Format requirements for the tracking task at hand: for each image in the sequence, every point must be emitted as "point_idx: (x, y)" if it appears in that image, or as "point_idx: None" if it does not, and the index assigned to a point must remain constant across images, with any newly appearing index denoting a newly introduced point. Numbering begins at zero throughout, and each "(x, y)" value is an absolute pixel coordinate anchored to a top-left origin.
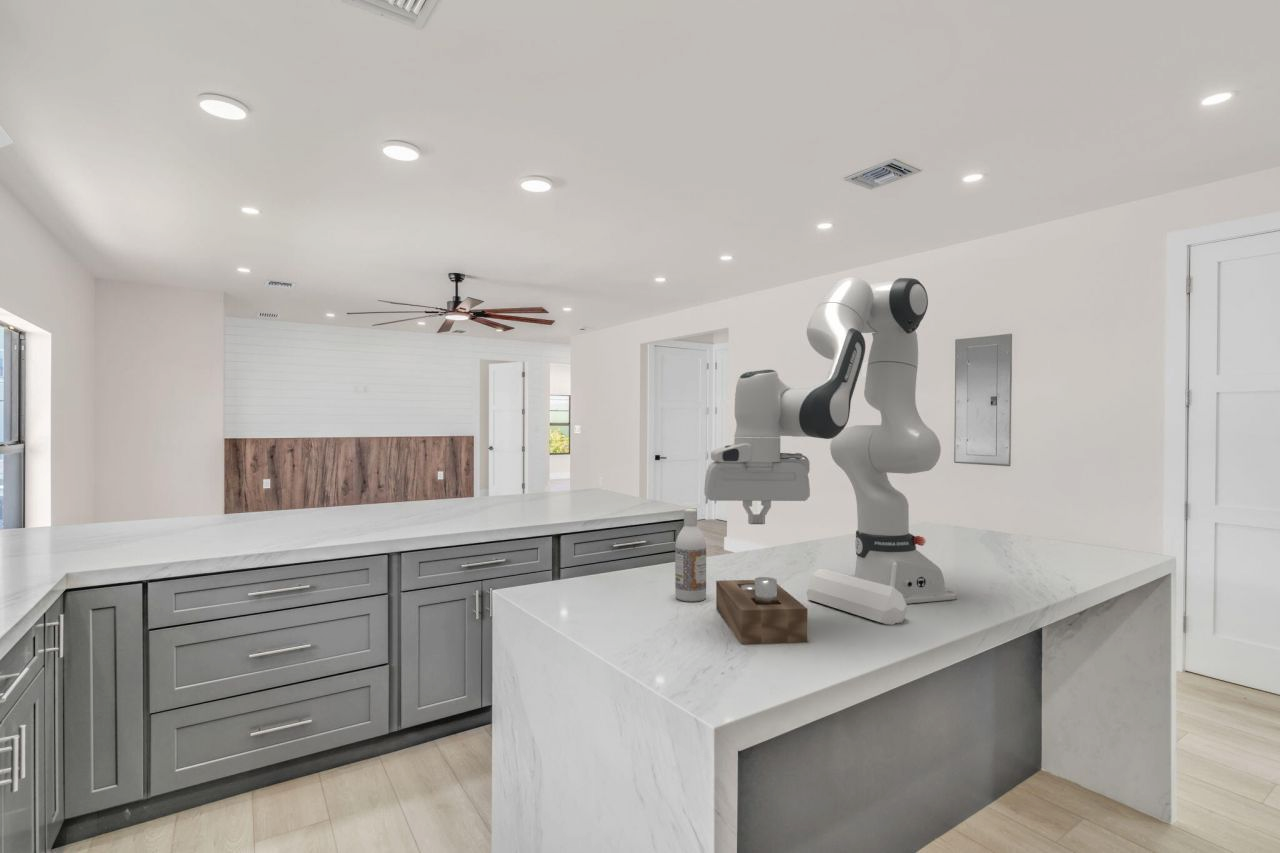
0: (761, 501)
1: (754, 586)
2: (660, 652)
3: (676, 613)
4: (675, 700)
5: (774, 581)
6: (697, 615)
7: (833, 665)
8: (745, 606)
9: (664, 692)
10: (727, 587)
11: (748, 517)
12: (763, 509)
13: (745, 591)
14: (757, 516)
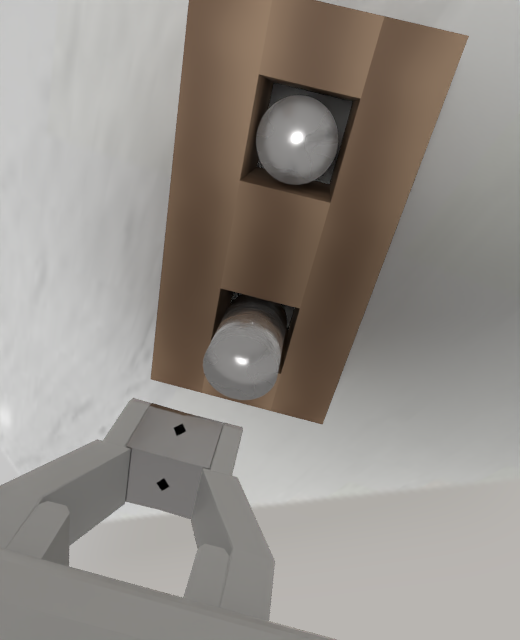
0: (184, 594)
1: (314, 141)
2: (8, 319)
3: (72, 18)
4: (22, 472)
5: (255, 398)
6: (136, 68)
7: (293, 469)
8: (173, 356)
9: (9, 451)
10: (197, 127)
11: (115, 426)
12: (211, 539)
13: (241, 208)
14: (159, 501)
